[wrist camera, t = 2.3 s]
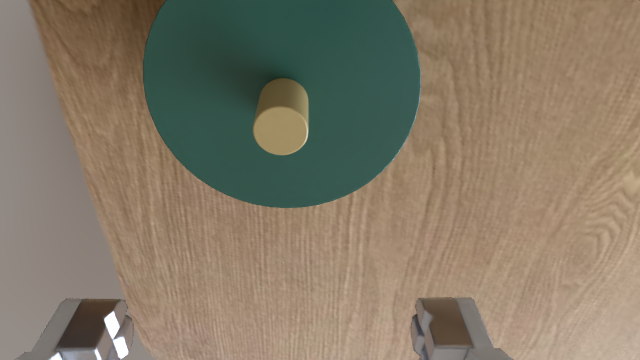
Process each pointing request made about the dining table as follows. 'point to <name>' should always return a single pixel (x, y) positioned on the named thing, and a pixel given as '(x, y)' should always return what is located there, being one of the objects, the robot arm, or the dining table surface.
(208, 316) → the dining table surface
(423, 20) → the dining table surface
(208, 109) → the lid
